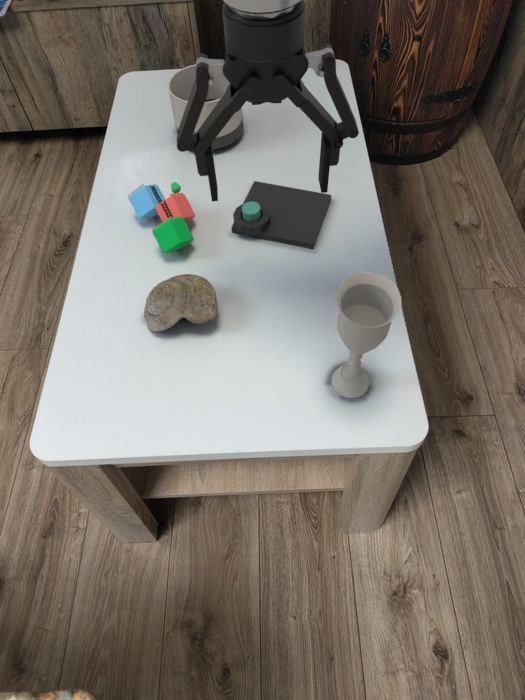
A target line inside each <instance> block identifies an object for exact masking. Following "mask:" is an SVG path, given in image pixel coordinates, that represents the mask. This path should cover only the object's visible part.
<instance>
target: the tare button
mask: <svg viewBox="0 0 525 700" xmlns="http://www.w3.org/2000/svg"><path fill="white" fill-rule="evenodd" d="M242 216H243V219H244V220H245V221H247V222H255V221H258V220H259V219H260V217H261V209H260V205H259V204H258V203H256V202H247V203H245V204H244V205H243V206H242Z"/></svg>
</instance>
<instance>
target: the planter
mask: <svg viewBox="0 0 525 700" xmlns="http://www.w3.org/2000/svg"><path fill="white" fill-rule="evenodd" d="M195 79H196V64H192V65H188V66H186V67H183V68H181V69H180V70H178V71H176V72H175V73H174V74H172V76H171V77H170V78H169V80H168V82H167V90H168V91H167V92H168V96H169V100H170V106H171V109H172V115H173V119H174V124H175V128H176V129H175V130H176V133H177V132H178V129H179V126H180V123H181V120H182V117H183V114H184V111H185V108H186V105H187V102H188V99H189V96H190V93H191V90H192V87H193V85H194V82H195ZM229 84H230V82H229V81H228V80H227V79H226V78H225V76H224V74H223V75H219V76H218V77H217V80H216V82H215V83H214V84H213V85H212V86H210V85H209V88H208V94H207V98H206V100H205V103H204V106H203V108H202V111H201V114H200V117H199V119H198V122H197V125H196V127H195V130H194V131H195V133H196V132H197V131H198V129H199V128H200V127H201V125H202V124H203V123H204V121H205V120H206V118H207V117H208V116H209V114H210V113H211V112H212V110H213V109H214V107H215V106H216V105H217V103H218V102H219V100H220V99H221V98H222V96H223V95H224V94H225V92H226V89H227V87H228V85H229ZM243 131H244V117H243V107H242V108H241V109H240V110H239V111H238V112H235V114H234V115H233V116H232V117H231V119H230V120H229V121H228V123H227V124H226V125H225V127H224V128H223V129H222V130H221V132H220V133H219V134H218V136H217V137H216V138H215V140H214V141H213V142H212V150H218V149H221V148H225V147H227V146H229V145H232V144H233V143H234V142H236V141H237V140H238V139H239V138H240V137H241V135H242V134H243ZM193 134H194V133H193Z"/></svg>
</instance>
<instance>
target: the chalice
mask: <svg viewBox="0 0 525 700" xmlns="http://www.w3.org/2000/svg"><path fill="white" fill-rule="evenodd" d="M335 292H336V293H335V301H336V305H337V308H338V312H337V318H336V329H337V332H338V334H339V337H340V340H341V341H342V343H343V345H344V346H345V348H347V349H348V351H349V358H348V359H347V363H344V364H342V365H341V366H339V367H338V368H336V369H335V370H334V372H333V374H332V376H331V385H332V388H333V389H334V391H335V392H336V393H337V394H338V395H339V396H342V397H344V398H347V399H355V398H356V399H357V398H359V397H361V396H363V395H365V394H366V392H367V391H368V390H369V387H370V379H369V376H368V374H367V372H366V371H365V369H364V368H363V367H362V361H361V360H362V358H363V355H365V354H368V353H370V352H372V351H373V350H376V348H377V347H379V346H380V345H382V343H383V342H385V340H386V339H387V337H388V333H389V331H390V328H391V324H392V321H394V319H396V317H397V316H398V315H399V314H400V311H401V309H402V296H401V293H400V290H399V288H398V287H397V286H396V285H395V284H394V282H393V281H392V280H390V279H389V278H388V277H386V276H384V275H383V274H382V275H381V274H379V273H376V272H369V271H362V272H361V271H360V272H356V273H353V274H351V275H349V276H346V277H345V278H344V279H343V280H342V281H341V282H340V283H339V285H338V287H337V289H336V291H335Z"/></svg>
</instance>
